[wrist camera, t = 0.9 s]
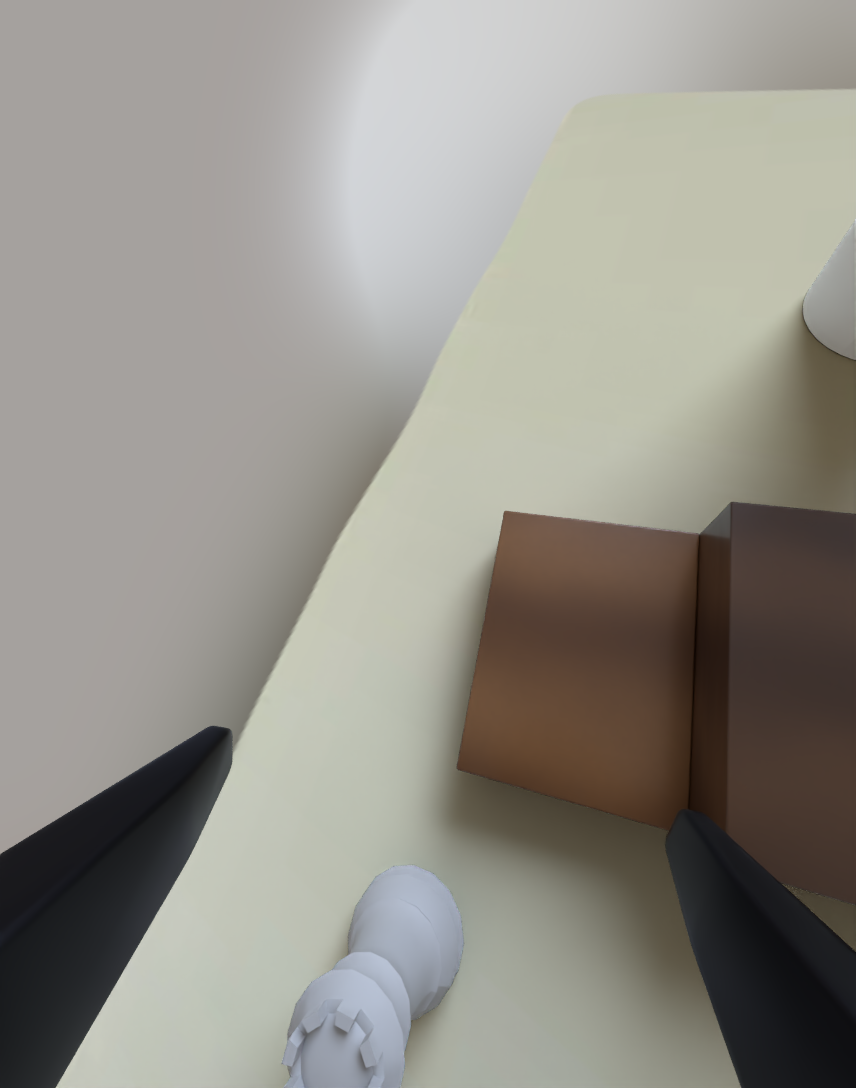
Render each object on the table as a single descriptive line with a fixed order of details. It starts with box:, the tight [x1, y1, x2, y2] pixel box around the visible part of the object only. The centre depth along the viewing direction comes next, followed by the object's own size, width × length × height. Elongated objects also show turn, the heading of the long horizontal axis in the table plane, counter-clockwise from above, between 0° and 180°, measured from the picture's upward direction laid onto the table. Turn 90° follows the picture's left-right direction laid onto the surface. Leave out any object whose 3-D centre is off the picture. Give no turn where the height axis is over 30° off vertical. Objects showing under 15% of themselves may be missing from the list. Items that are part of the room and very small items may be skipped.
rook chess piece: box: [282, 865, 464, 1088], centre depth 14 cm, size 4×4×8 cm
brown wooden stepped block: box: [457, 502, 856, 905], centre depth 15 cm, size 11×16×8 cm
